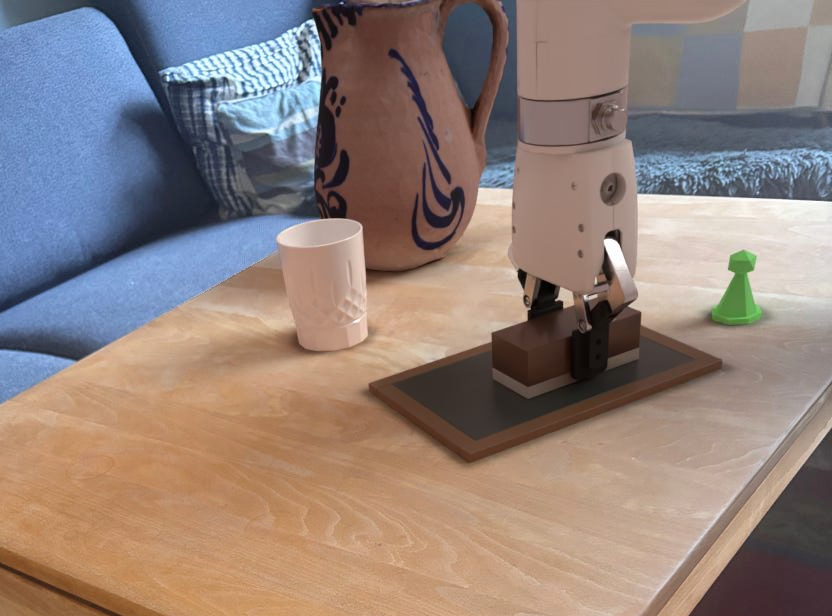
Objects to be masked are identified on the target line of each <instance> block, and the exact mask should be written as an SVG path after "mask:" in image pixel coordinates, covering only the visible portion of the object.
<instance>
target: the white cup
mask: <svg viewBox="0 0 832 616" xmlns="http://www.w3.org/2000/svg"><path fill="white" fill-rule="evenodd" d="M275 243H276V248H277V252H278V257H279V262H280V266H281V267H280V268H281V271H282V276H283V281H284V285H285V291H286V296H287V299H288V303H289V308H290V311H291V312H290V313H291V315H292V317H293V319H294V325H295V330H296V335H297V340H298V344H299V345H300V346H301V347H303V348H304V349H305V350H308V351H315V352H333V351H339V350H344V349H348V348H352V347H353V346H355V345H358V344H360V343H362V342H363V341H364V340H365V339H366V338H367V337H368V336H369V331H368V330H369V329H368V319H367V318H368V317H367V315H368V314H367V311H368V310H367V309H368V299H367V298H368V290H367V289H368V288H367V272H366V271H367V269H366V268H365V257H364V241H363V227H362V225H361V224H360V223H359V222H357V221H354V220H350V219H315V220H314V219H313V220H310V221H305V222H301V223H298V224H295V225H292V226H290V227H288V228H285V229H283V230H282V231H280V232H279V233H278V234H277V235H276V237H275Z"/></svg>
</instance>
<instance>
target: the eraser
mask: <svg viewBox="0 0 832 616" xmlns="http://www.w3.org/2000/svg"><path fill="white" fill-rule="evenodd" d="M597 303H598V296H596V297H594V298H589V304H590V311H591V310H592V309H593V308H594V306H595V305H596V304H597ZM641 325H642V311H641V310H638V309H635V308H633V307H631V306H629V305H628V306H627V307H626V308H624V309H623V311H622V312H621V313H620V314H619V315H618V316H617V317H616V320H615V322H614V323H613V324H611V325H609V344H608V365H607V368H606V370H605V371H607V370H610V369H612V368H615V367H618V366H621V365H623V364H626V363H629V362H632V361H634V360H637V359H638V358H639V343H640V328H641ZM576 329H578V326H577V320H576V313H575V307H574V304H573V305H569V306H567V307H563V309H561V310H558V311H555V312H552V313H549V314H546V315H543V316H540V317H537V318H534V319H531V320H528V321H527V320H525V321H522V322H519V323H516V324H513V325H510V326H507V327H504V328H501V329H498V330H496V331H495V330H494V331H492V332H491V335H490V336H491V342H492V367H493V369H492V370H493V379H494V380H495V381H497V382H499V383H501V384H502V385H504V386H506V387H508V388H509V389H511V390H513V391H515V392H516V393H518V394H520V395H522V396H523V397H525V398H527V399H530V398H533V397H535V396H538V395H541V394H544V393H546V392H549V391H552V390H555V389H557V388H560V387H563V386H566V385H568V384H571V383H574V382H577V381H579V380H575V379H573V378H572V377H571V347H572V331H574V330H576ZM603 372H604V371H603ZM600 373H601V372H600ZM598 374H599V373H598ZM595 375H596V374H595ZM592 376H593V375H592ZM589 377H590V376H589ZM587 378H588V377H587ZM584 379H585V378H584ZM581 380H582V379H581Z"/></svg>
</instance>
